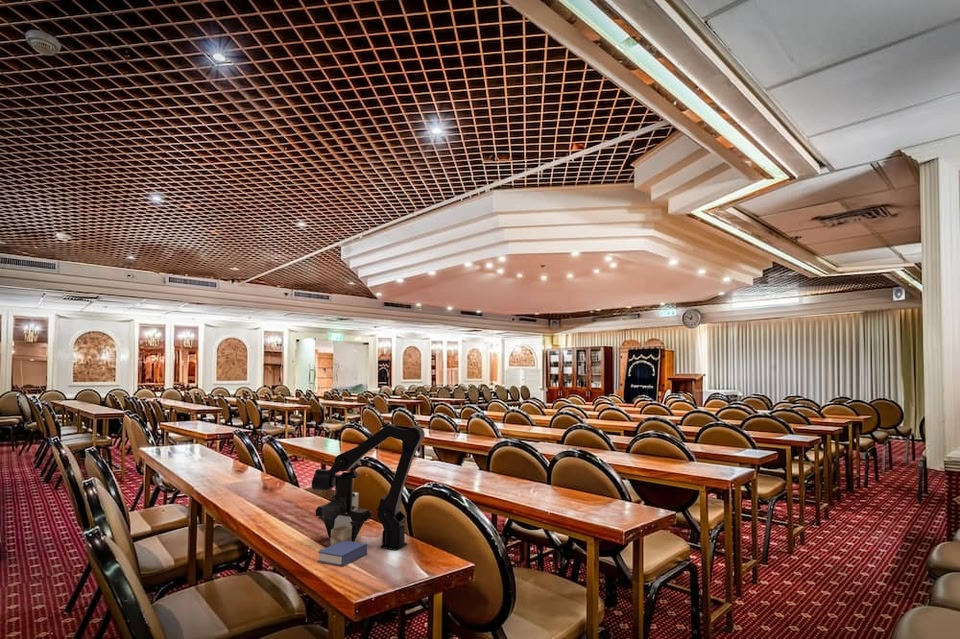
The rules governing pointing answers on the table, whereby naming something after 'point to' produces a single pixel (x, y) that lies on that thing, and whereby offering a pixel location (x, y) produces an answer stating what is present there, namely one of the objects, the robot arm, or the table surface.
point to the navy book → (342, 553)
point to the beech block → (341, 534)
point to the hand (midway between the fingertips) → (341, 539)
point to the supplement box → (345, 519)
